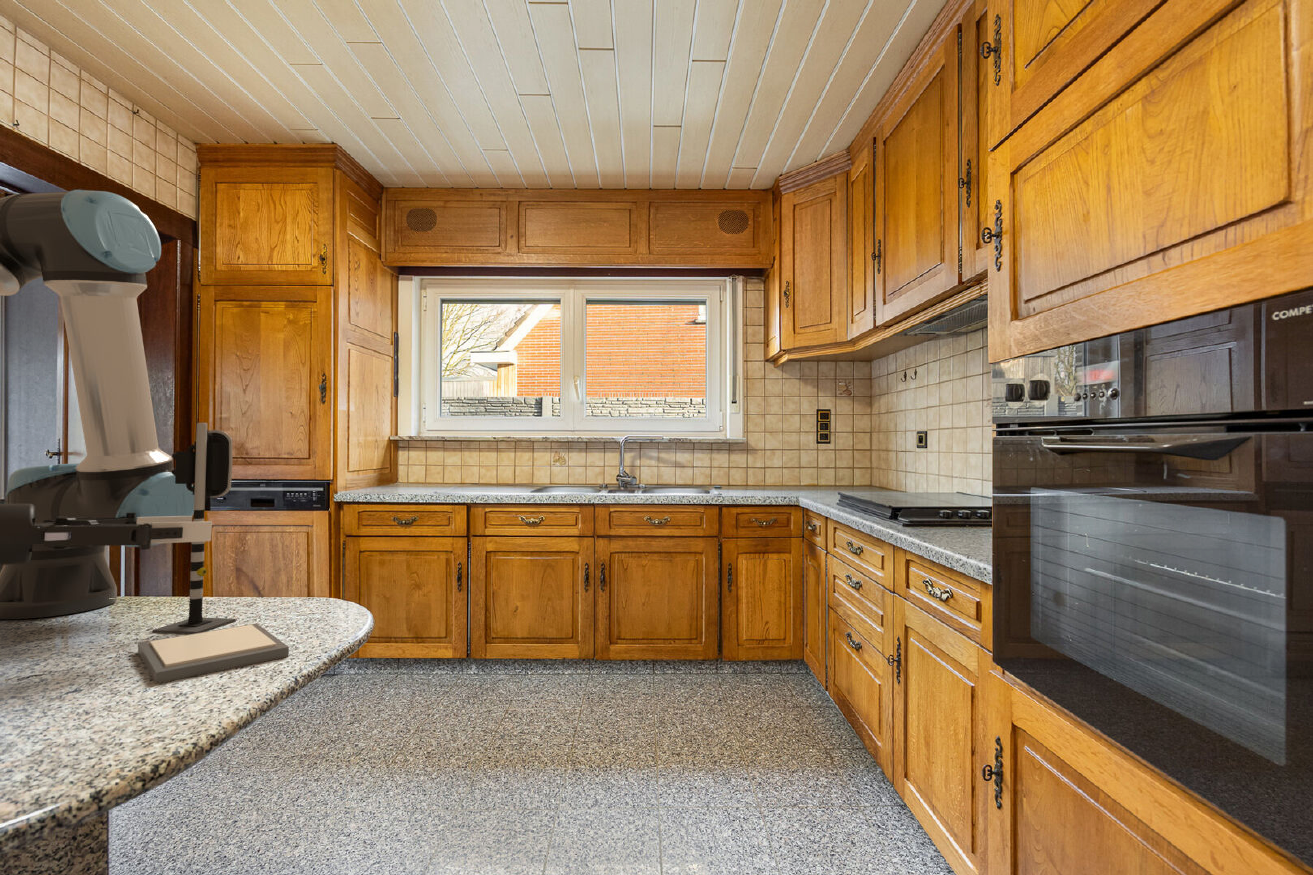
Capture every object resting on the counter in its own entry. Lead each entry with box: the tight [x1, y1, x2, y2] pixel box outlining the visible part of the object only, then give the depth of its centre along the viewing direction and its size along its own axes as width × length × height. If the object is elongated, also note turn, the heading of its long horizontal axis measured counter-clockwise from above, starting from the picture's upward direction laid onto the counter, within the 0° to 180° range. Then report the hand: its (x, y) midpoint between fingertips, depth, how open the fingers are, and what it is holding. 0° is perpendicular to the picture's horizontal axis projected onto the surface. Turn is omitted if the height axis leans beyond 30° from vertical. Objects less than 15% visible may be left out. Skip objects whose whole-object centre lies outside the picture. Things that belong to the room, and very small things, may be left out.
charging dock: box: [137, 622, 290, 685], centre depth 77 cm, size 15×13×2 cm
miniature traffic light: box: [152, 422, 237, 635], centre depth 90 cm, size 8×8×30 cm
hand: (201, 527), depth 89 cm, fingers open, 13 cm apart
